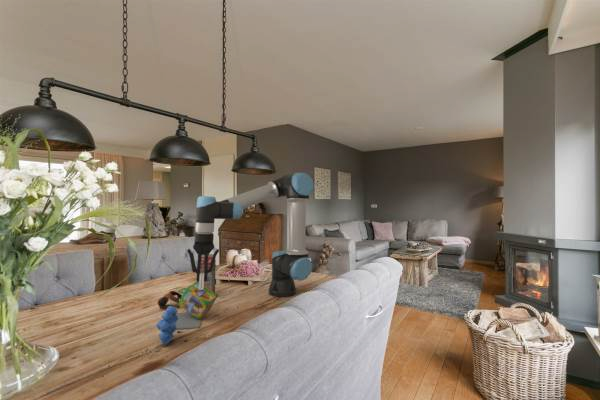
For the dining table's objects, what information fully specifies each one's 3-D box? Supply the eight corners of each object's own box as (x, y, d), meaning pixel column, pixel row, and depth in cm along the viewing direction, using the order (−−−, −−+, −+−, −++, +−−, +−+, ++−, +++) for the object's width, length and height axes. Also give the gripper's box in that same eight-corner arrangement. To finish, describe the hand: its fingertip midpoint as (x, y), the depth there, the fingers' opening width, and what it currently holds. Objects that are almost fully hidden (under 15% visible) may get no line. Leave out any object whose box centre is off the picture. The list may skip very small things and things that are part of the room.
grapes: (162, 334, 107) (163, 301, 108) (181, 334, 108) (182, 301, 108) (148, 350, 96) (148, 313, 96) (169, 349, 96) (169, 313, 96)
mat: (203, 312, 130) (203, 311, 130) (199, 328, 113) (199, 326, 113) (170, 314, 127) (170, 313, 127) (160, 331, 110) (160, 329, 110)
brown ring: (167, 304, 142) (176, 289, 143) (179, 315, 138) (189, 300, 139) (148, 305, 131) (158, 289, 132) (161, 317, 127) (172, 301, 128)
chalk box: (208, 304, 117) (180, 283, 119) (198, 321, 119) (170, 300, 120) (219, 294, 126) (192, 275, 128) (209, 311, 128) (182, 291, 129)
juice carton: (202, 293, 157) (203, 253, 157) (215, 294, 157) (215, 253, 157) (198, 297, 150) (198, 255, 151) (210, 297, 150) (211, 255, 150)
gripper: (221, 232, 128) (218, 286, 127) (189, 231, 125) (186, 286, 124) (220, 234, 120) (217, 291, 120) (186, 233, 117) (182, 291, 117)
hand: (201, 288), depth 122 cm, fingers closed
